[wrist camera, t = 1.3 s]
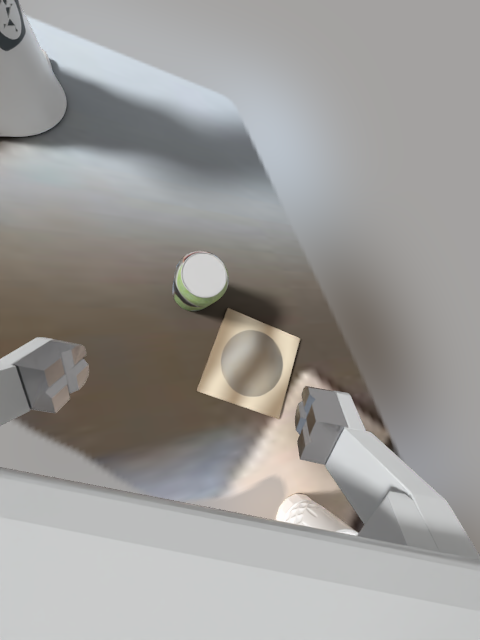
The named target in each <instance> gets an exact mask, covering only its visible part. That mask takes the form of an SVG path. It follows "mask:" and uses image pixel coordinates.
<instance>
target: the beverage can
mask: <svg viewBox="0 0 480 640" xmlns="http://www.w3.org/2000/svg"><path fill="white" fill-rule="evenodd" d="M228 282H229V277H228V272H227V269H226V267H225V265H224V263H223V262H222V261H221V260H220V259H219V258H218V257H217V256H215V255H214V254H212V253H209V252H205V251H196V252H192V253H189V254H187V255H186V256H184V257H183V258H182V259H181V260H180V262H179V263H178V265H177V267H176V271H175V276H174V282H173V289H172V292H173V297H174V299H175V301H176V302H177V304H178V305H179V306H180V307H182V308H183V309H186V310H189V311H199V310H202V309H204V308H206V307H207V306H209V305H211V304H212V303H214V302H216V301H217V300H219V299H220V298H221V297H222V296H223V295H224V293H225V292H226V289H227V287H228Z"/></svg>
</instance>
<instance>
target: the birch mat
mask: <svg viewBox="0 0 480 640" xmlns="http://www.w3.org/2000/svg"><path fill="white" fill-rule="evenodd" d="M299 341H300V338H298V337H295V336H293V335H291V334H288V333H286V332H284V331H281V330H279V329H277V328H274V327H272V326H269V325H267V324H265V323H262V322H260V321H258V320H255V319H253V318H251V317H248V316H246V315H244V314H241V313H239V312H236V311H234V310H232V309H229V308H227V310H226V313H225V316H224V318H223V321H222V324H221V327H220V329H219V332H218V335H217V337H216V340H215V343H214V345H213V348H212V351H211V353H210V356H209V359H208V362H207V364H206V367H205V370H204V372H203V375H202V378H201V380H200V383H199V386H198V388H197V391H198V392H201V393H204V394H207V395H210V396H213V397H216V398H219V399H222V400H225V401H228V402H231V403H233V404H236V405H239V406H242V407H245V408H248V409H251V410H254V411H257V412H260V413H263V414H266V415H268V416H271V417H274V418H277V419H279V417H280V413H281V409H282V405H283V402H284V398H285V394H286V390H287V386H288V383H289V379H290V375H291V371H292V367H293V364H294V360H295V356H296V352H297V348H298V345H299Z"/></svg>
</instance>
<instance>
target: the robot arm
mask: <svg viewBox="0 0 480 640" xmlns="http://www.w3.org/2000/svg"><path fill="white" fill-rule="evenodd" d="M66 106H67V101H66V96H65V93H64V90H63V88H62V86H61V85H60V83H59V81H58V80H57V78H56V76H55V75H54V73H53V71H52V65H51V62H50V60H49V57H48V55H47V53H46V52H45V51H44V50H43V49H41V47H40V45H39V42H38V40H37V38H36V36H35V34H34V32H33V30H32V28H31V26H30V23H29V21H28V19H27V17H26V15H25V13H24V11H23V9H22V7H21V5H20V3H19V1H18V0H0V136H9V137H23V136H31V135H36V134H40V133H42V132H45V131H47V130H49V129H51V128H52V127H54V126H55V125H56V124H57V123H59V121H60V120H61V119H62V117H63V116H64V114H65V111H66ZM86 355H87V354H86V350H85V347H84V346H82V345H80V344H75V343H70V342H65V341H60V340H54V339H50V338H45V337H38V338H35V339H33V340H32V341H30V342H28V343H27V344H25V345H23V346H22V347H20V348H18V349H17V350H15V351H13V352H12V353H10V354H8V355H7V356H5V357H3V358H1V359H0V426H1V425H3V424H5V423H7V422H9V421H11V420H13V419H15V418H17V417H19V416H21V415H23V414H25V413H26V412H28V411H30V409H32V410H39V411H45V412H51V413H56V412H57V411H58V410H59V409H60V408H61V407H62V406H63V405H64V404H65V403H66V402H67V401H68V400H69V399H70V393H72V392H74V391H77V390H79V389H80V388H81V387H82V386H83V385H84V384H85V382H86V380H87V378H88V374H89V367H88V364H87V363H86V361H85V360H84V357H85V356H86ZM302 399H303V401H302V402H300V403H298V406H297V410H296V416H295V426H296V431H297V432H298V433H299V435H300V436H299V438H298V441H297V442H298V449H299V456H300V459H301V460H305V461H310V462H314V463H319V464H324V465H325V467H326V468H327V470H328V471H329V473H330V474H331V476H332V477H333V479H334V480H335V482H336V483H337V485H338V486H339V488H340V489H341V491H342V492H343V494H344V495H345V497H346V498H347V500H348V501H349V503H350V504H351V506H352V507H353V508H354V510H355V511H356V513H357V514H358V516H359V517H360V519H361V520H362V522H363V523H364V527H363V528H362V529H361V531H360V532H359V533H358V535H357V536H355V535H350V534H345V533H339V532H334V531H329V530H324V529H319V528H314V527H308V526H303V525H298V524H293V523H288V522H283V521H277V520H272V519H267V518H262V517H256V516H251V515H246V514H241V513H236V512H231V511H226V510H220V509H215V508H210V507H205V506H199V505H194V504H189V503H184V502H179V501H174V500H168V499H163V498H158V497H153V496H148V495H143V494H137V493H132V492H127V491H122V490H117V489H111V488H106V487H101V486H96V485H90V484H85V483H80V482H74V481H70V480H64V479H59V478H54V477H48V476H44V475H39V474H33V473H28V472H22V471H18V470H13V469H7V468H2V467H0V640H480V555H479V554H478V552H477V550H476V548H475V547H474V545H473V543H472V542H471V540H470V539H469V537H468V535H467V533H466V532H465V530H464V528H463V527H462V525H461V524H460V522H459V521H458V518H457V517H456V515H455V514H454V512H453V510H452V509H451V507H450V505H449V504H448V502H447V501H446V500H445V499H444V498H443V497H442V496H441V495H440V494H439V493H437V492H436V491H435V490H434V489H433V488H432V487H431V486H430V485H429V484H428V483H426V482H425V481H424V480H423V479H422V478H421V477H420V476H419V475H418V474H416V473H415V472H414V471H413V470H412V469H411V468H410V467H409V466H408V465H407V464H406V463H404V462H403V461H402V460H401V459H400V458H399V457H398V456H397V455H396V454H394V453H393V452H392V451H391V450H390V449H389V448H388V447H387V446H386V445H385V444H383V443H382V442H381V441H380V440H379V439H378V438H377V437H376V436H375V435H373V434H372V433H371V432H368V431H366V430H365V427H364V425H363V423H362V421H361V418H360V416H359V414H358V412H357V409H356V407H355V405H354V403H353V400H352V398H351V396H350V395H349V394H348V393H345V392H338V391H330V390H325V389H319V388H313V387H308V386H305V388H304V389H303V392H302Z"/></svg>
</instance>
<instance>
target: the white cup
mask: <svg viewBox="0 0 480 640" xmlns="http://www.w3.org/2000/svg"><path fill="white" fill-rule="evenodd" d="M276 520H277V521H283V522H288V523H293V524H298V525H303V526H308V527H314V528H319V529H324V530H329V531H334V532H339V533H345V534H350V535H355V536H357V535H358V532H357V531H355V530H354V529H353V528H351V527H350V526H349V525H347V524H346V523H345V522H343V521H342V520H341V519H339V518H338V517H337V516H335V515H334V514H333V513H331V512H330V511H329V510H327V509H326V508H324V507H323V506H321V505H320V504H317V503H316V502H314V501H313V500H311V499H310V498H309V497H308V496H306V495H304V494H294V495H291V496H289V497H287V498H286V499H285V500H284V502H283V503H282V504H281V505H280V507H279V510H278V513H277V516H276Z"/></svg>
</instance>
